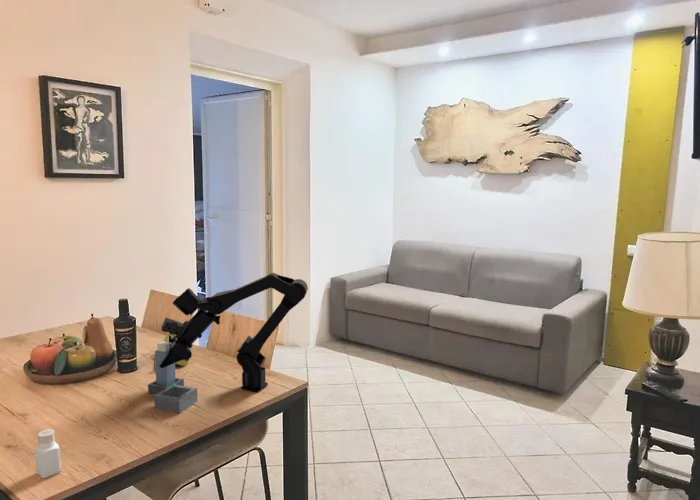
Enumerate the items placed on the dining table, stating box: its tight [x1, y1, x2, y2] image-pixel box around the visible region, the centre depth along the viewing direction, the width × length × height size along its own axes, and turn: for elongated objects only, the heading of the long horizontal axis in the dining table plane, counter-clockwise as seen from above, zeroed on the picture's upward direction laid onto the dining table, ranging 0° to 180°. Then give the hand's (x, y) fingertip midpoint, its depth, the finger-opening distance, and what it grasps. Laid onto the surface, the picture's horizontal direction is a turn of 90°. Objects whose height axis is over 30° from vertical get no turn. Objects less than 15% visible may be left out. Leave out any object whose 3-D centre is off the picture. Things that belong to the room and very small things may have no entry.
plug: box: [154, 341, 177, 387], centre depth 153 cm, size 4×4×13 cm
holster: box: [147, 377, 185, 396], centre depth 154 cm, size 7×7×3 cm
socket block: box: [153, 383, 198, 414], centre depth 145 cm, size 8×8×4 cm
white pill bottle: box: [34, 428, 62, 479], centre depth 110 cm, size 4×4×10 cm
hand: (160, 363), depth 153 cm, fingers closed on plug, 6 cm apart
